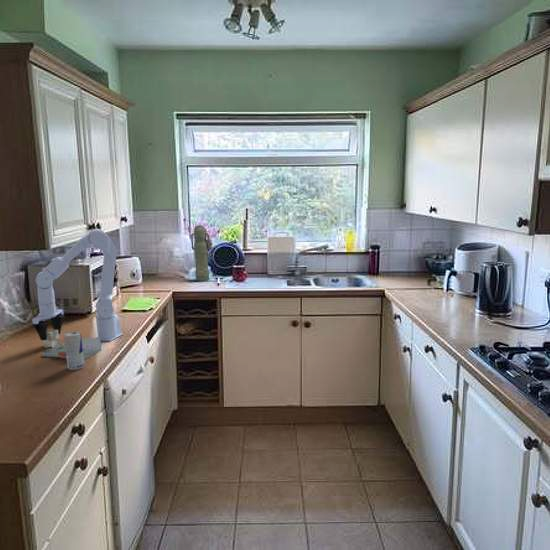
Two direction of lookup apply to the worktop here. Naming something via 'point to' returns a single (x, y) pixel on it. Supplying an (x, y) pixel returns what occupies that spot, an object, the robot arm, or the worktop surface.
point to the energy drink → (74, 350)
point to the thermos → (201, 253)
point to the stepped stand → (88, 345)
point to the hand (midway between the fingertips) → (50, 336)
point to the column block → (51, 338)
